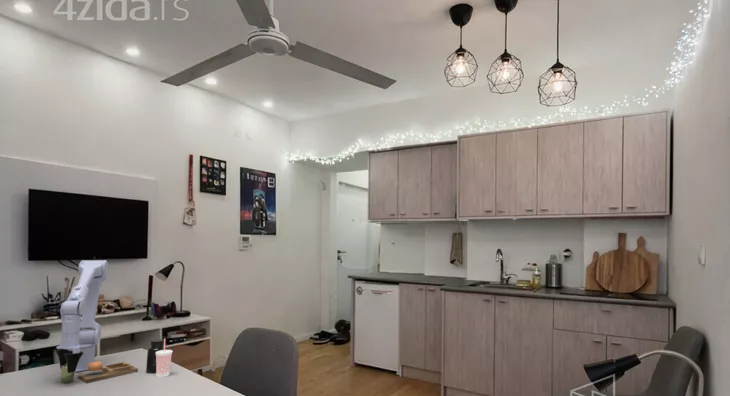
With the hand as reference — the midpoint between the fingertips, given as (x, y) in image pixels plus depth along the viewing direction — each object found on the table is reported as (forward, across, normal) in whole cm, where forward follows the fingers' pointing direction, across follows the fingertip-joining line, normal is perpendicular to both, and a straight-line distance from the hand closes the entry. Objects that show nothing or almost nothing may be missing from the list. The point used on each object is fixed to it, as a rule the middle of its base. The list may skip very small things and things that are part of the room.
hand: (67, 370), depth 158 cm
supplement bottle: (+4, +12, +27) cm, 30 cm away
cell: (+4, 0, 0) cm, 4 cm away
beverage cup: (+4, +20, +26) cm, 33 cm away
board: (+4, +3, +13) cm, 14 cm away
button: (+1, +3, +8) cm, 9 cm away
